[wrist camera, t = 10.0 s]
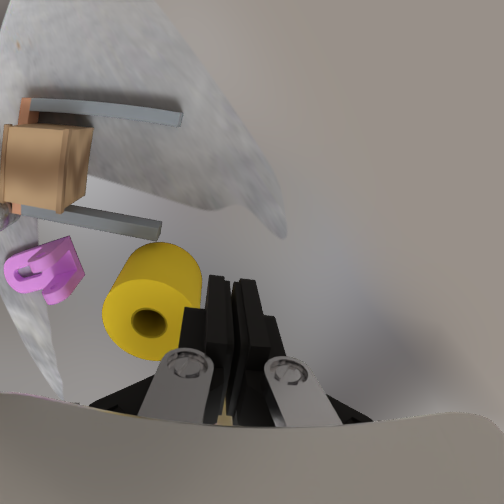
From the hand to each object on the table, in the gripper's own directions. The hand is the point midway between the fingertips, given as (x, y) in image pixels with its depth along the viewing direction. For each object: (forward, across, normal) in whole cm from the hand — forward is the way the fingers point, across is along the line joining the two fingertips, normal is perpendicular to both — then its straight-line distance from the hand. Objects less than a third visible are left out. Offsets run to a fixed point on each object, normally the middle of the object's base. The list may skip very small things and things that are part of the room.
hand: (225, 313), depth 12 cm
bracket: (+26, +23, +13) cm, 37 cm away
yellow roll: (+26, +6, +12) cm, 29 cm away
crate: (+26, +20, -1) cm, 32 cm away
